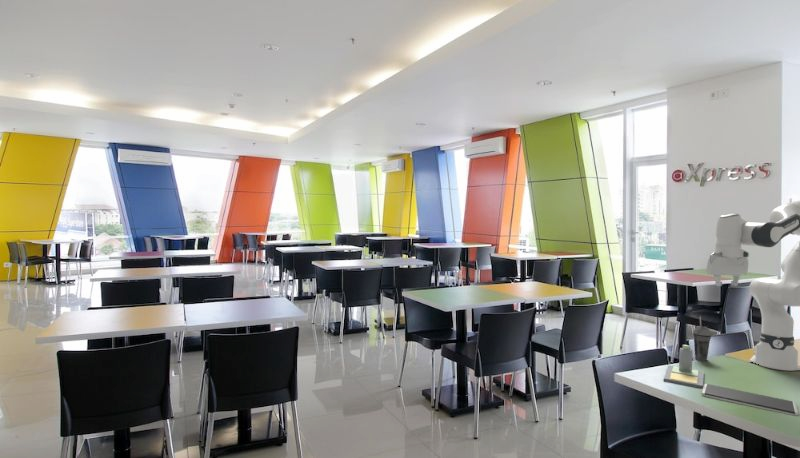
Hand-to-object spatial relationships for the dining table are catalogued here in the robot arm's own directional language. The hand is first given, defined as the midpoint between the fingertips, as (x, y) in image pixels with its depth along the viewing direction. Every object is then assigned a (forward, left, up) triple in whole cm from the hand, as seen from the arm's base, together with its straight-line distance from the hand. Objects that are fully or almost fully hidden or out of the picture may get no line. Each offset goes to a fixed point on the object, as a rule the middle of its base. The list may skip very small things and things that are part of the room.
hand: (726, 285), depth 196 cm
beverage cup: (-20, -8, -37) cm, 43 cm away
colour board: (+16, -13, -37) cm, 42 cm away
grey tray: (+31, +7, -38) cm, 49 cm away
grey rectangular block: (+11, -13, -36) cm, 40 cm away
